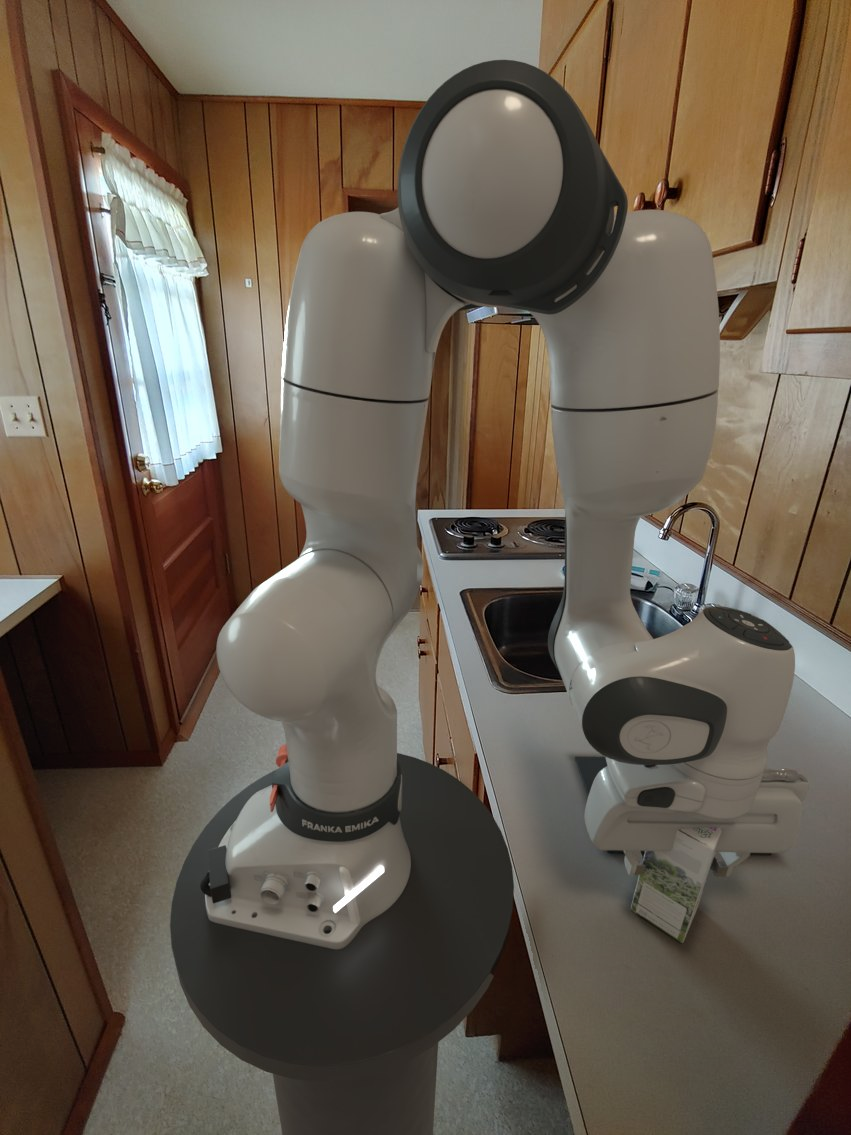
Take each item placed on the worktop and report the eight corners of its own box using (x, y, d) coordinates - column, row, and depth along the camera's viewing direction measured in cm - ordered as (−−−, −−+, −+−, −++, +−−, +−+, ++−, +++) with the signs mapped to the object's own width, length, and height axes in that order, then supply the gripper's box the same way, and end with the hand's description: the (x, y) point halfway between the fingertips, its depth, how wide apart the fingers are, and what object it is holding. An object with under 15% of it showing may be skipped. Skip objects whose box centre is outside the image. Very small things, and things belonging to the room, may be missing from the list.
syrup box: (699, 906, 61) (731, 808, 55) (682, 947, 57) (715, 846, 51) (647, 875, 64) (672, 780, 58) (627, 912, 60) (653, 813, 54)
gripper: (793, 747, 55) (757, 846, 61) (590, 743, 55) (572, 843, 61) (836, 796, 49) (792, 900, 55) (610, 792, 49) (588, 897, 55)
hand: (675, 870), depth 58 cm, fingers closed on syrup box, 7 cm apart
